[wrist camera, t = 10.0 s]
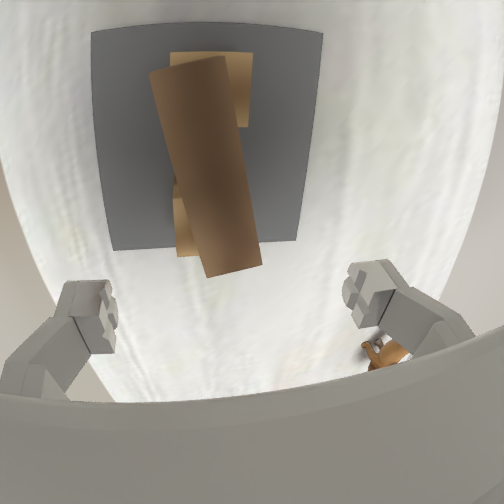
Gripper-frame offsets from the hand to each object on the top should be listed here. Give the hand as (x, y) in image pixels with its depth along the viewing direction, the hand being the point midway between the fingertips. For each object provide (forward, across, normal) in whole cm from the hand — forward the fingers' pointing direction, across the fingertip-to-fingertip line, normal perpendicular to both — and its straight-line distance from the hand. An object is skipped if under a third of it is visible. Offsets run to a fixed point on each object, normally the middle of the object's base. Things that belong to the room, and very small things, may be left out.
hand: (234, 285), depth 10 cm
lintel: (+12, 0, +1) cm, 12 cm away
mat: (+18, 0, +1) cm, 18 cm away
